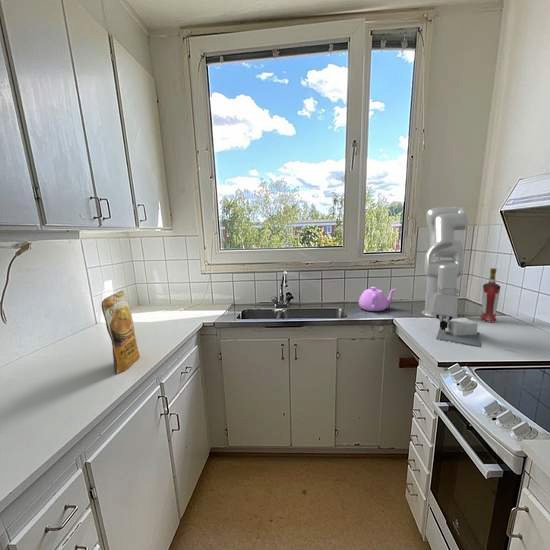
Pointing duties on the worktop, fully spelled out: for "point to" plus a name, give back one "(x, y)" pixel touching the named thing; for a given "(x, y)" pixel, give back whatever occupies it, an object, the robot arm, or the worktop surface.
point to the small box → (461, 327)
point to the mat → (459, 338)
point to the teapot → (374, 299)
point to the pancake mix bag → (120, 331)
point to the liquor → (490, 298)
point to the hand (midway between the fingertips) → (443, 329)
